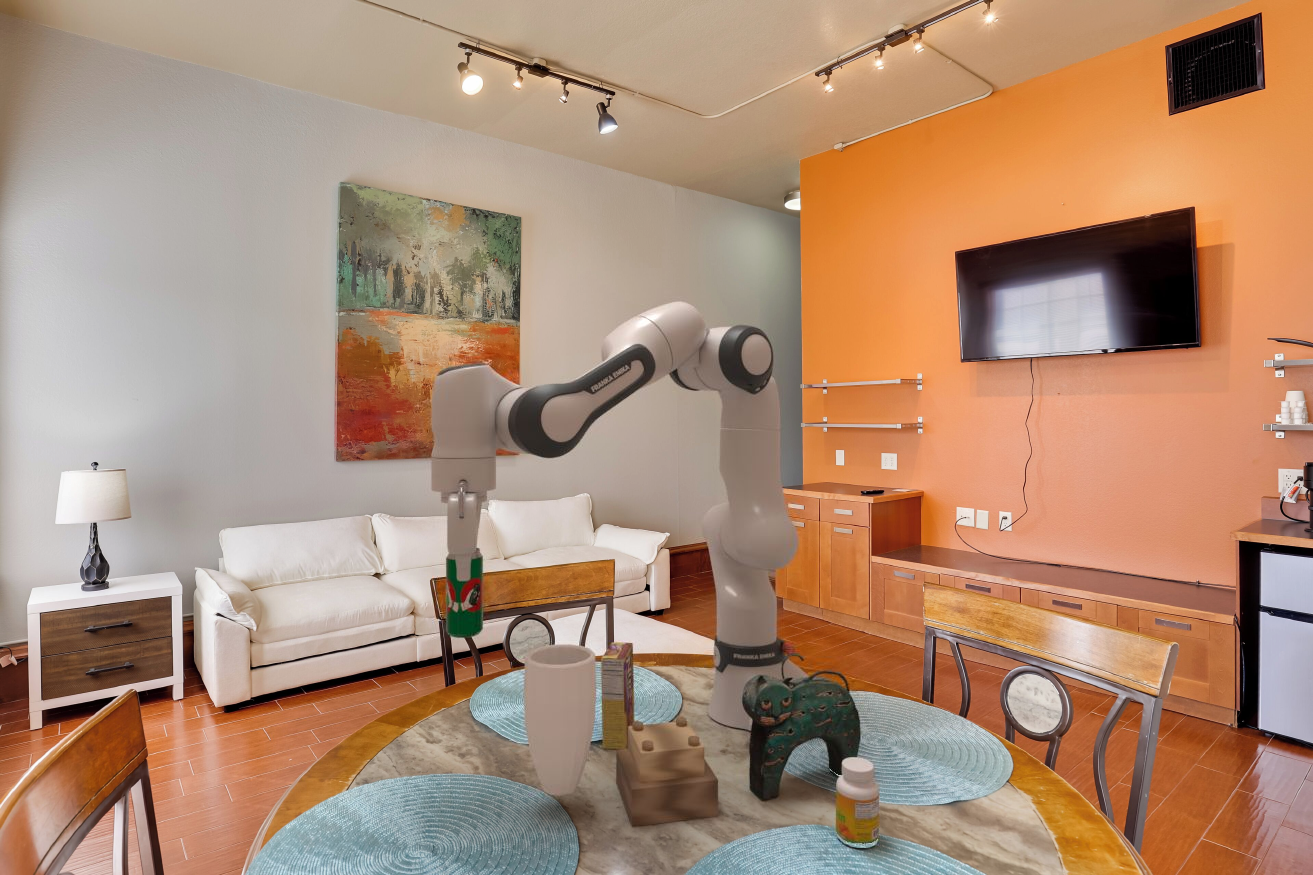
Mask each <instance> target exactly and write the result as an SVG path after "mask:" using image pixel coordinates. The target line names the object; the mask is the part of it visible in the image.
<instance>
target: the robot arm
mask: <svg viewBox="0 0 1313 875" xmlns="http://www.w3.org/2000/svg"><path fill="white" fill-rule="evenodd" d="M601 360H602V362H601V363H599V364H598V365H596V366H594V367H592V368H591V369H589V370H588V371H586V372H585V373H583V374H581V375H580V376H578V377H577V378H575V379H573V380H571V381H569V382H566V383H548V384H542V385H541V384H540V385H536V386H531V387H524V386H522V385H519V384H517V383H515V382H513V381H510V380H509V379H507V378H506V377H504V376H502V375H500V374H499V373H498V372H497V371H495V370H494V369H493V368H492V367H491V366H490V365H489V363H488V364H487V363H484V362H474V363H466V364H460V365H456V366H455V365H454V366H451V367H449V366H448V367H446V368H444V369H442V370H440V371H439V372H438V373H437V375H436V377H435V379H434V382H433V386H432V393H431V394H432V395H431V407H430V408H431V409H430V410H431V411H430V427H431V431H432V434H433V448H432V452H431V458H430V460H431V464H430V466H431V474H430V475H431V482H430V484H431V487H430V488H431V491H433V492H435V493H440V502H441V503H442V504H447V512H446V513H447V514H446V516H447V518H446V519H447V520H446V526H447V528H446V541H447V542H446V546H447V547H446V548H447V552H448V554H455V560H456V567H457V580H458V581H468V580H470V566H471V553H475V552H476V548H478V547H477V545H478V537H479V536H478V535H479V529H480V522H481V521H480V520H481V514H482V504H483V503H484V502H487V501H488V496H487V495H488V492H489V491H493V490H496V489H497V474H496V473H497V459H496V458H497V457H496V456H497V450H500V449H501V450H504V451H506V452H510V453H516V454H517V453H518V454H523V455H532V456H536V457H540V458H543V459H555V458H559V457H562V456H565V455H567V454H568V453H570V452H571V451H572V450H574V449H575V448H576V447H577V446H578V444H580V442H581V441H582V439H583V437H584V436H585V434H586V433H587V432H588V430H589V429H590V428H591V426H592V425H593V424H594V423H595V422H596V421H597V420H598V419H600V417H602V416H603V415H605V414H607V412H608V411H611V410H612V409H613V408H614V407H616V406H617V405H619V404H620V403H622V402H623V401H625V400H626V399H627V398H628V397H630V396H632V395H633V394H634V393H636V392H637V391H639V390H640V389H643V388H645V387H647V386H650V385H652V384H654V383H656V382H658V381H659V380H661V379H663V378H665V377H666V376H668V375H669V377H670V378H671V379H672V380H671V381H673V382H674V384H676V385H677V386H679V387H681V388H682V389H685V390H688V391H693V392H699V391H704V392H705V391H707V392H708V391H709V392H717V393H718V395H719V398H720V401H721V404H722V405H721V406H722V407H721V417H720V434H719V436H720V437H719V463H718V464H719V466H718V468H719V469H718V470H719V474H720V475H721V477H722V480H723V482H724V486H725V490H726V495H727V500H728V501H726V502H725V501H723V502H721V503H718V504H715V505H713V506H712V507H711V508H710V509H708V510H707V512H706V513H705V515H704V517H703V520H702V524H701V525H702V526H701V529H702V530H701V531H702V534H703V535H702V536H703V538H704V540H705V542H706V545H707V548H708V552H709V558H710V564H711V569H712V574H713V581H714V585H715V587H714V588H715V593H716V594H715V596H716V634H715V636H714V643H713V644H714V645H713V664H714V668H715V670H714V678H713V686H712V692H711V696H710V701H709V705H708V707H707V710H706V711H707V712H706V713H707V715H708V716H709V717H710V718H711V719H712V720H713V721H715V722H716V723H719V724H722V725H725V726H727V727H731V728H736V729H743V730H746V731H750V732H751V726H752V718H751V717H750V716H749V715H748V714H747V713H746V711H745V710H744V708H743V704H742V696H743V690H744V687H745V685H746V683H747V682H748V681H749V680H750V679H752V678H753V677H755V676H757V675H768V676H771V677H774V678H777V679H783V677H782V672H781V667H782V661H783V659H784V657H786V656H787V655H789V654H791V653H796V652H797V649H796V646H795V645H793V643H791V642H788V641H787V642H786V641H785V640H784V639H781V638H780V637H778V636H777V629H778V626H777V624H778V623H777V621H778V620H777V618H778V617H777V616H778V613H777V612H778V611H777V610H778V608H777V607H778V605H777V604H778V603H777V602H778V599H777V594H776V592H775V590H774V588H773V586H772V583H771V581H770V578H769V577H770V576H769V574H768V571H775V570H781V569H783V568H784V567H786V566H788V565H789V564H790V563H791V562H792V561H793V560H794V558H795V556H796V555H797V553H798V548H799V542H800V539H799V534H798V530H797V528H796V526H795V525H794V523H793V522H792V520H791V518H790V515H789V512H788V508H787V505H786V503H787V502H786V500H785V495H784V490H783V485H782V477H781V468H780V465H781V462H780V460H781V407H780V396H779V391H778V386H777V381H776V379H775V378H774V377H773V376H772V374H773V371H774V370H773V368H774V351H773V347H772V343H771V341H770V339H769V337H768V336H767V333H765V332H764V331H763V330H762V329H761V328H758V327H756V326H752V325H747V324H745V325H744V324H738V325H734V326H718V327H712V328H709V329H708V327H707V326H706V322H705V319H704V317H703V315H702V314H701V312H699V310H698V309H697V308H696V306H693V305H692V304H690V303H688V302H686V301H673V302H669V303H666V304H665V303H664V304H661V305H659V306H656V307H654V308H651V309H648V310H645V311H643V312H642V313H639V314H638V315H635V316H634V317H632V318H630V319H629V320H626V321H625V322H623V323H621V324H620V325H618V326H617V327H616V328H614V329H613V330H612V331H611V332H610V333H609V334H608V335H607V336H605V337H604V339H603V342H602V346H601ZM783 673H784V678H788V677H793V679H792V680H791V681H793V680H795V679H799V678H803V677H809V676H810V675H808V674H807V673H806V672H805V671H803V669H802V668H800V667H799V666H798V665H796V664H795V663H794V662H793V661H791V660H789V658H788V659H787V660H786V661H785V663H784V666H783Z"/></svg>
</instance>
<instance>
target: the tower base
mask: <svg viewBox="0 0 1313 875" xmlns="http://www.w3.org/2000/svg"><path fill="white" fill-rule="evenodd" d="M705 749H706V748H705V745H704V744H703V743H702V741H701V740H700V737H699V736H698V735H697V734H696V731H694V729H693V727H692V726H691V725H690V723H689V722H688V720H687V718H686V717H683V716H680V717H676V718H675V721H671V722H660V723H651V724H649V723H648V724H644V722H643V721H640V720H636V721H635V722H633V723H632V726H628V745H627V748H626V749H615V750H616V751H615V753H616V755H615V757H616V758H615V759H616V760H615V762H616V763H615V775H616V776H615V783H616V786H617V789H618V792H619V795H620V796H621V801H622V803H623V805H624V808H625V812H626V814H627V817H628V820H629V823H630V825H631V827H632V828H633V827H641V826H648V825H657V824H665V823H673V822H680V821H681V822H682V821H687V820H688V821H689V820H696V819H704V818H712V817H719V816H718V815H719V804H718V803H719V779H718V777H717V776H716V775H715V773H714V771H713V770H712V768H711V767H710V765H709V764H708V762H707V761H706V758H705Z"/></svg>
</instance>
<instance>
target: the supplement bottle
mask: <svg viewBox="0 0 1313 875" xmlns="http://www.w3.org/2000/svg"><path fill="white" fill-rule="evenodd" d="M874 776H875V768H874V764H873V762H871V761H870V760H868V759H865V758H862V757H858V756H857V757H850V758H846V759H844V760H843V761H842V775H841V776H840V777H837V779H836V785H835V786H836V787H835V833H836V832H837V834H838V835H839V836H840V837H841V838H842V839H843V840H845V841H847V842H851V843H862V844H864V843H865V844H866V843H872V842H874V841H876V840H877V839H878V837H879V838H880V788H879V785H878V783H877V781H876V780H875V779H874ZM878 840H879V839H878Z"/></svg>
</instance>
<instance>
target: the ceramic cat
mask: <svg viewBox="0 0 1313 875" xmlns="http://www.w3.org/2000/svg"><path fill="white" fill-rule="evenodd" d="M785 656H786V657H784V659H783V661H782V667H781V672H782V677H783V679H777V678H774V677H771V676H768V675H757V676H755V677H753V678H752V679H750V680H749V681H748V682H747V683H746V685H745V687H744V690H743V696H742V704H743V708H744V710H745V711H746V713H747V714H748V715H749V716H750V717H751V718H752V726H751V731H750V736H749V745H748V746H749V747H748V751H749V772H748V776H749V790H750V791H751V793H752V794H754V796H756V797H757V798H758V799H759V800H761V801H762V802H764V801H765V802H766V801H768V800H773V799H777V798H778V797H779V793H780V787H781V781H782V776H783V772H784V770H785V767H786V765H787V764H788V761H789V759H790V757H791V754H792V753H793V752H794V750H795V749H796V748H797V747H799V746H801V745H803V744H804V743H807V742H809V741H812V740H815V739H820V740H822V741H823V742H824V743H825V746H826V752H827V758H828V767H829V768H830V769H831V770H832V771H833V772H835V773H836V774H838V775H842V761H843V760H844V759H846V758H850V757H857V758H858V754H859V749H860V743H861V737H862V736H861V719H860V715H859V714H860V713H859V711H858V709H857V706H856V703H855V701H854V698H853V696H852V694H851V693H850V692H851V691H850V687H849V684H848V680H847V678H846V677H845V676H844V675H843V674H842V673H841V672H838V671H835V670H820V671H817V672H815V673H813V674H810V675H808V676H809V677H803V678H799V679H795V680H793V681H791V680H792V679H793V677H788V678H784V673H783V666H784V663H785V661H786V660H787V659H788V660H789V658H790V657H791V658H792V657H798V658H799V659H800V660H801V662H804V661H805V659H804V656H802V655H801V654H800V653H796V652H795V653H791V654H789V655H787V654H786V655H785ZM823 674H824V675H825V674H827V675H828V674H829V675H835V676H838V677H839V678H841V680H842V681H843V682H844V683H845V687H846V688H845V687H844V686H842V685H841V684H839V683H837V682H835V681H833V680H831V679H829V678H827V677H824V676H819V675H823ZM829 768H828V769H829Z"/></svg>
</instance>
